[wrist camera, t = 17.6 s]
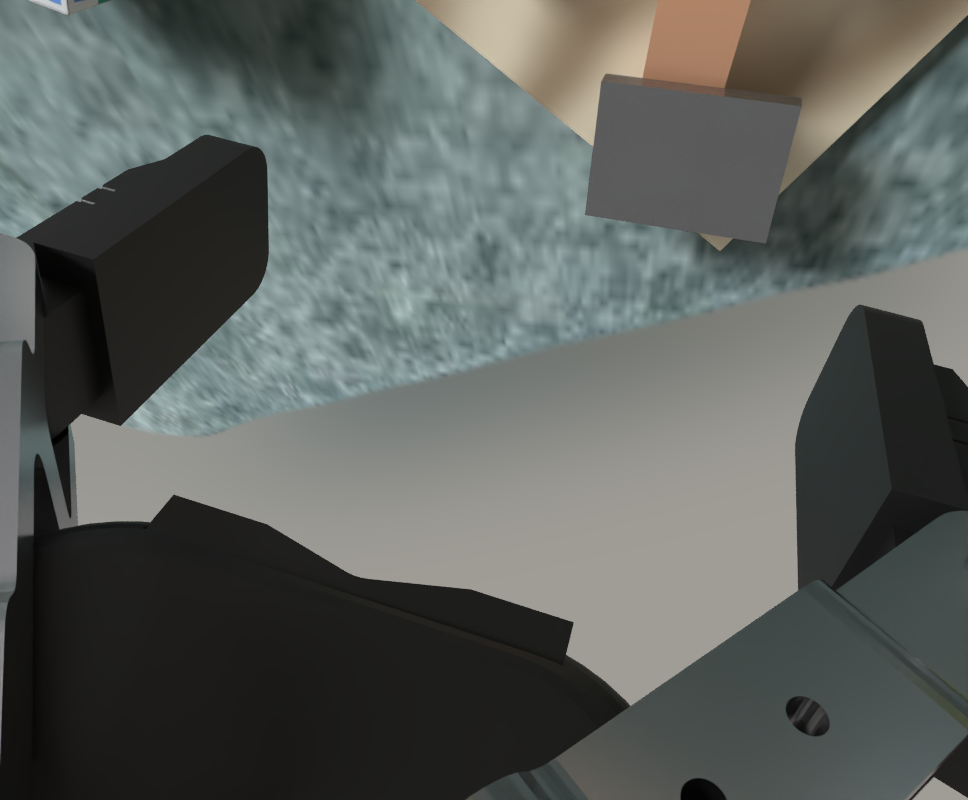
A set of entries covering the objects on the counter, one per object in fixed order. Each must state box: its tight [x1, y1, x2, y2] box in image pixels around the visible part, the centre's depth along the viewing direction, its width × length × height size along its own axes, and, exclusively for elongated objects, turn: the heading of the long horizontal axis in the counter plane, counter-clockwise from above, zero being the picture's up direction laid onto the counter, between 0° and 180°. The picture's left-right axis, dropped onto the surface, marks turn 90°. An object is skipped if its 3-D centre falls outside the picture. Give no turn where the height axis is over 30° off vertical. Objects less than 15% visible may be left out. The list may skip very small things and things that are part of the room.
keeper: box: [585, 73, 802, 244], centre depth 34 cm, size 5×7×5 cm
